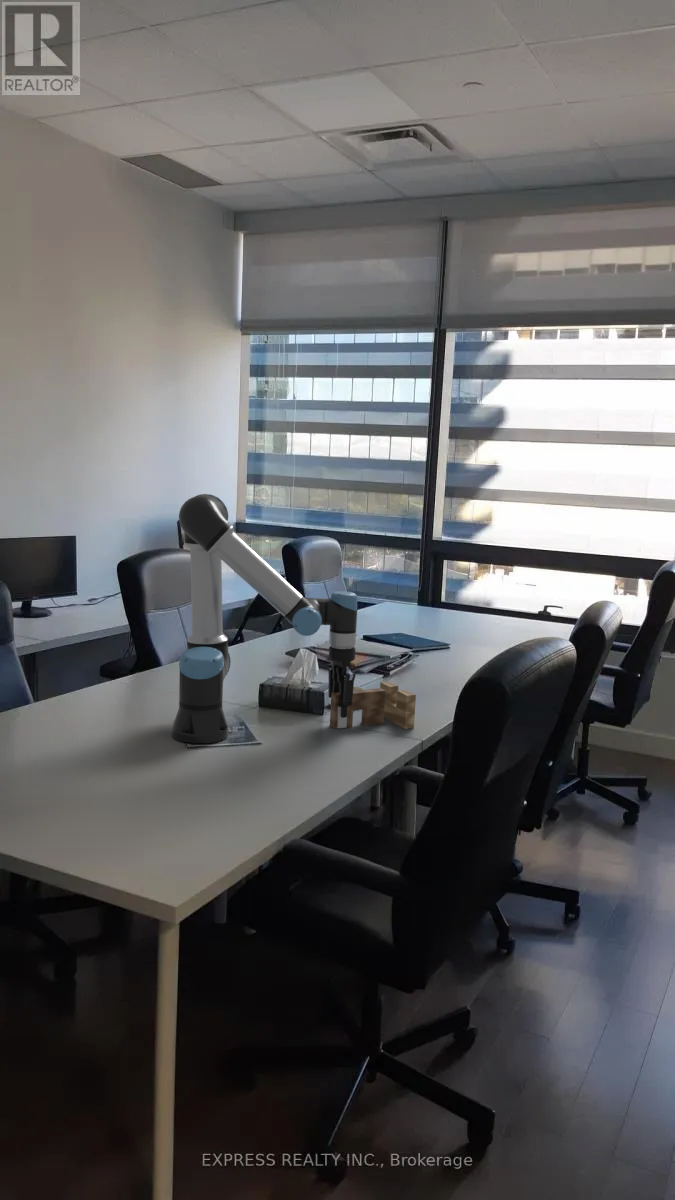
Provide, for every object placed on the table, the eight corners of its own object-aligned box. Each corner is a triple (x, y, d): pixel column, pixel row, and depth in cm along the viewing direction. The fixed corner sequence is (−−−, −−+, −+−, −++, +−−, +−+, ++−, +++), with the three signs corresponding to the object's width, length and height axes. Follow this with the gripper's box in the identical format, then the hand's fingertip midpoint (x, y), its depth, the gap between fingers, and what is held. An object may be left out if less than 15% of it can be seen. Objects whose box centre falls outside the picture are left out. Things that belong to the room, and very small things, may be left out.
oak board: (404, 729, 261) (406, 695, 259) (378, 713, 275) (380, 681, 273) (413, 728, 262) (415, 694, 260) (387, 713, 276) (389, 681, 274)
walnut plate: (334, 728, 258) (335, 694, 256) (329, 725, 261) (331, 692, 259) (383, 723, 265) (385, 690, 263) (378, 720, 267) (380, 688, 266)
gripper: (367, 651, 251) (363, 732, 255) (341, 639, 265) (338, 716, 269) (342, 652, 248) (339, 735, 251) (318, 641, 262) (315, 719, 266)
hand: (338, 725), depth 260 cm, fingers closed on walnut plate, 3 cm apart
